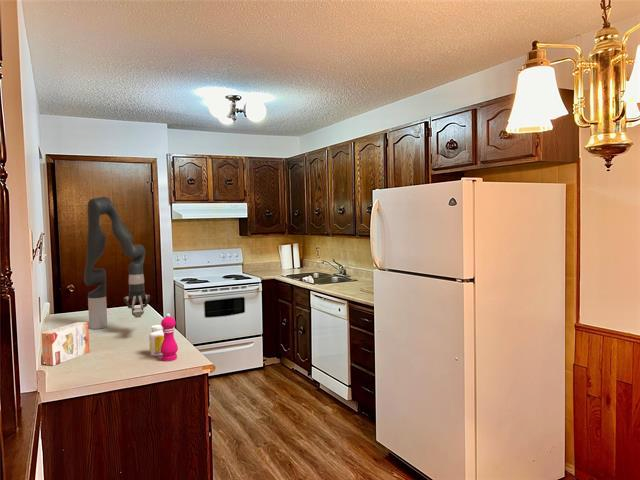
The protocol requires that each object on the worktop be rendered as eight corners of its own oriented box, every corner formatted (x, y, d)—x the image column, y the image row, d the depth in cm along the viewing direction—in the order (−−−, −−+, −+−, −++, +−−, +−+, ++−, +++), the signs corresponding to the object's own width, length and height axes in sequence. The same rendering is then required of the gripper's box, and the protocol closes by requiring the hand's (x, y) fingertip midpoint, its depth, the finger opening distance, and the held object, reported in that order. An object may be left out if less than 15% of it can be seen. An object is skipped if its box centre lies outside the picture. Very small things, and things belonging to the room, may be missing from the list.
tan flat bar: (132, 318, 250) (132, 312, 251) (142, 317, 252) (142, 311, 253) (133, 312, 234) (133, 306, 235) (144, 311, 236) (143, 305, 237)
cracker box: (90, 351, 219) (53, 366, 199) (80, 350, 221) (41, 365, 201) (89, 322, 218) (51, 333, 198) (78, 321, 220) (40, 332, 200)
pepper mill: (163, 356, 209) (161, 312, 208) (179, 356, 210) (178, 311, 209) (158, 362, 202) (157, 315, 201) (176, 361, 203) (174, 315, 202)
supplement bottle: (168, 352, 216) (167, 324, 215) (159, 357, 209) (158, 328, 209) (156, 351, 218) (155, 323, 217) (146, 355, 212) (145, 327, 211)
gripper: (150, 280, 254) (151, 312, 255) (121, 282, 249) (123, 315, 250) (151, 282, 247) (152, 315, 248) (122, 284, 242) (123, 318, 243)
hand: (137, 315), depth 249 cm, fingers closed on tan flat bar, 3 cm apart
